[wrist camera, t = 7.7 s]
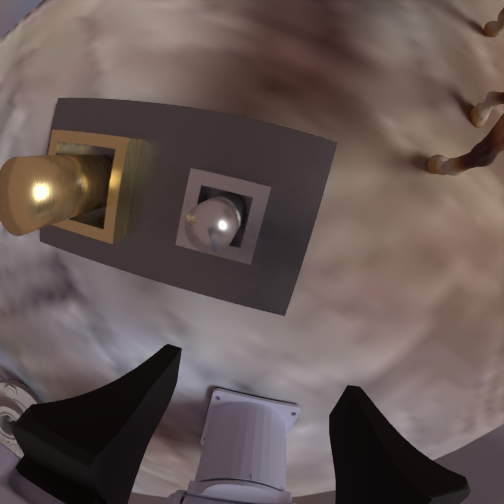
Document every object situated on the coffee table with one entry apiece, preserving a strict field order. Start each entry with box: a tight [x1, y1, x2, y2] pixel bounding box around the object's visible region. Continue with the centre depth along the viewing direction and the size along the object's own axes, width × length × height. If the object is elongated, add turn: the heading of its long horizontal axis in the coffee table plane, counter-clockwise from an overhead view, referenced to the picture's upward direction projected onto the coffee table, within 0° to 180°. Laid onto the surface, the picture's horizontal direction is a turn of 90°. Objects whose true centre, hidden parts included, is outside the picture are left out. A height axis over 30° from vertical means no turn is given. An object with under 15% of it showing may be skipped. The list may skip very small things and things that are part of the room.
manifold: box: [40, 98, 337, 316], centre depth 16 cm, size 12×21×6 cm, turn 76°
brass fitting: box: [0, 154, 113, 236], centre depth 15 cm, size 4×4×8 cm
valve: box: [0, 379, 41, 453], centre depth 27 cm, size 10×20×15 cm
